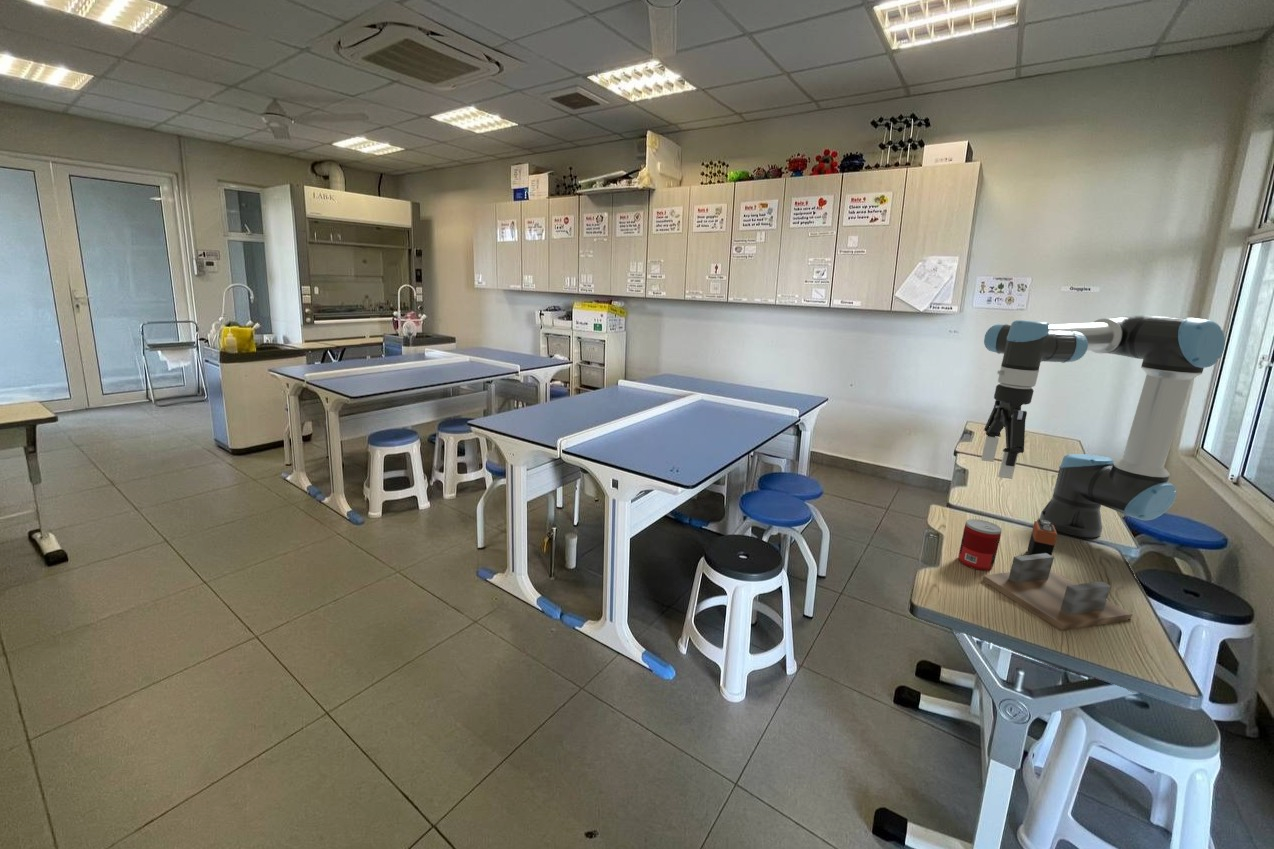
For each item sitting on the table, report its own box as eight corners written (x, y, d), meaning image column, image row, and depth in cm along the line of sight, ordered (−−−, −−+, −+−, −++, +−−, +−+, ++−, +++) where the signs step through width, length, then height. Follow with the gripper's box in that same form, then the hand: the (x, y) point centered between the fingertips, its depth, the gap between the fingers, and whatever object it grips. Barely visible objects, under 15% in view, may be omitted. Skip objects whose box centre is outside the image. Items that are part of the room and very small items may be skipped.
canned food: (998, 572, 138) (1007, 533, 135) (963, 568, 139) (972, 529, 136) (985, 558, 145) (994, 520, 142) (953, 554, 146) (961, 517, 144)
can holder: (1045, 572, 139) (1052, 546, 137) (1130, 619, 120) (1140, 590, 118) (982, 580, 134) (988, 553, 132) (1061, 630, 115) (1069, 599, 113)
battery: (1045, 554, 148) (1054, 521, 146) (1049, 565, 143) (1058, 530, 140) (1026, 550, 150) (1035, 517, 148) (1029, 560, 145) (1038, 526, 142)
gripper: (982, 376, 142) (965, 452, 148) (1016, 393, 119) (995, 483, 125) (1014, 379, 140) (996, 456, 146) (1055, 397, 117) (1032, 488, 123)
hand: (995, 469), depth 135 cm, fingers open, 13 cm apart
